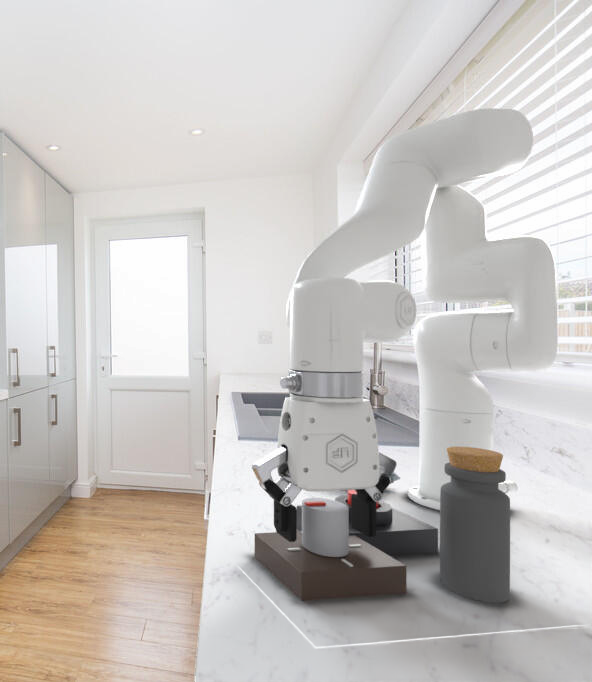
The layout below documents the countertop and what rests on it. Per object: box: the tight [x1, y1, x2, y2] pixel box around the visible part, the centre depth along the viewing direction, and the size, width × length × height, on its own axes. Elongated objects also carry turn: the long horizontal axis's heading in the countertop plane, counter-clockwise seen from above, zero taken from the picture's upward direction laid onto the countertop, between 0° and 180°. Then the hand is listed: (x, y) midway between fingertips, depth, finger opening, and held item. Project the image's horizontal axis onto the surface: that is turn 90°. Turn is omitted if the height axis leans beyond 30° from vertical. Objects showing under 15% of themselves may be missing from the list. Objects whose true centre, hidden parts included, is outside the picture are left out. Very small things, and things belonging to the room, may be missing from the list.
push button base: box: [296, 494, 439, 557], centre depth 64 cm, size 13×10×5 cm
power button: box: [347, 490, 379, 509], centre depth 64 cm, size 4×4×2 cm
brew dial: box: [301, 497, 349, 557], centre depth 55 cm, size 5×5×5 cm
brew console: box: [254, 530, 408, 602], centre depth 55 cm, size 12×10×3 cm
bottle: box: [439, 447, 511, 604], centre depth 51 cm, size 6×6×15 cm
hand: (324, 534), depth 55 cm, fingers open, 9 cm apart
